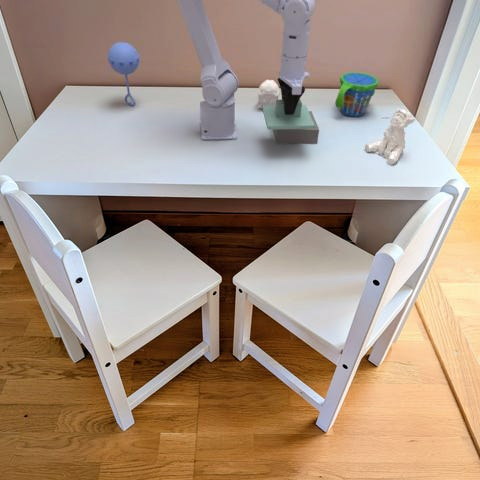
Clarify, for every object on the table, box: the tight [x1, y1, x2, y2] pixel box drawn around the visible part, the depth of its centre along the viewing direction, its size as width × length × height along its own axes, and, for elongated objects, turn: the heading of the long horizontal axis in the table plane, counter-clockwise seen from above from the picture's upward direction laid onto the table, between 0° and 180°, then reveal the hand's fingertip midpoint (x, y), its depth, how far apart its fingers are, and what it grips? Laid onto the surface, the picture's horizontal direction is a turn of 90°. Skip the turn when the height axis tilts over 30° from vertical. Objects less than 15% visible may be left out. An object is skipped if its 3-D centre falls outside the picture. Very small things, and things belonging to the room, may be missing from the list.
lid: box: [261, 98, 315, 130], centre depth 100 cm, size 11×11×5 cm
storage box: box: [272, 110, 320, 145], centre depth 111 cm, size 11×11×4 cm
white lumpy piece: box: [257, 79, 280, 110], centre depth 123 cm, size 6×8×12 cm
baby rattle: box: [107, 41, 140, 107], centre depth 118 cm, size 9×9×18 cm
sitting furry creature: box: [364, 107, 416, 166], centre depth 101 cm, size 10×9×12 cm
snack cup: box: [334, 72, 379, 118], centre depth 119 cm, size 16×10×10 cm
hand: (288, 111), depth 100 cm, fingers closed on lid, 2 cm apart
